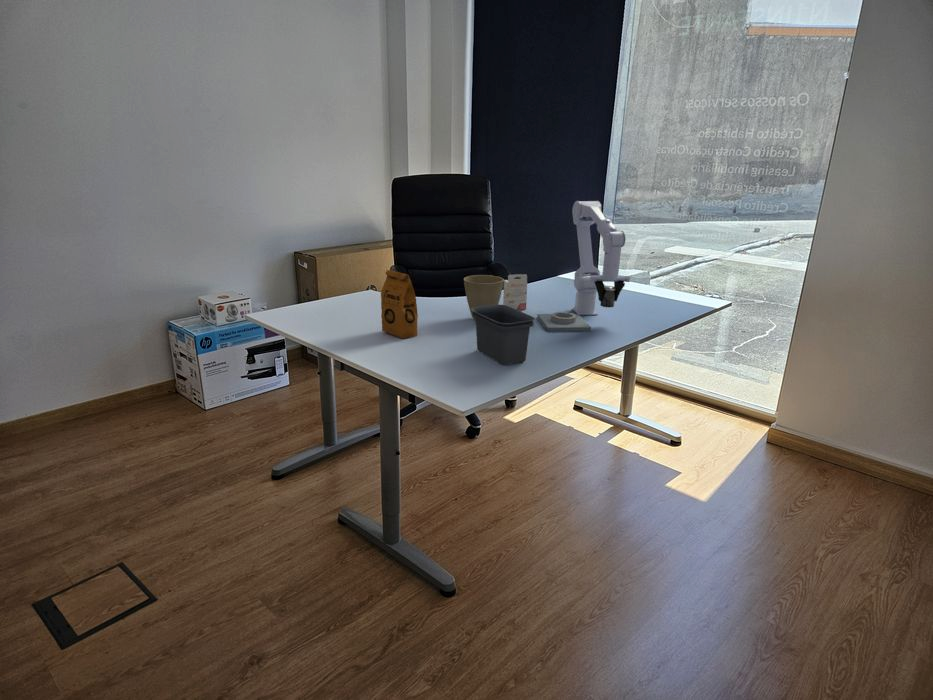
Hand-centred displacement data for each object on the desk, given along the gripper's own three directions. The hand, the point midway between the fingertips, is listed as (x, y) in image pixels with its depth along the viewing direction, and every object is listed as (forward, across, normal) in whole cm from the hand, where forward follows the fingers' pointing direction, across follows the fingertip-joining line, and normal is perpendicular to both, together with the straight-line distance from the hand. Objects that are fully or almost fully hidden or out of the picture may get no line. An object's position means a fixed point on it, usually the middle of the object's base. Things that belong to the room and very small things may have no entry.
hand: (607, 300), depth 224 cm
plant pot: (+10, -46, +7) cm, 47 cm away
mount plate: (+9, -16, +1) cm, 18 cm away
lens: (+2, 0, 0) cm, 2 cm away
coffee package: (+10, -77, -10) cm, 78 cm away
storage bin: (+10, -44, -33) cm, 56 cm away
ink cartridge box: (+10, -31, +23) cm, 40 cm away
